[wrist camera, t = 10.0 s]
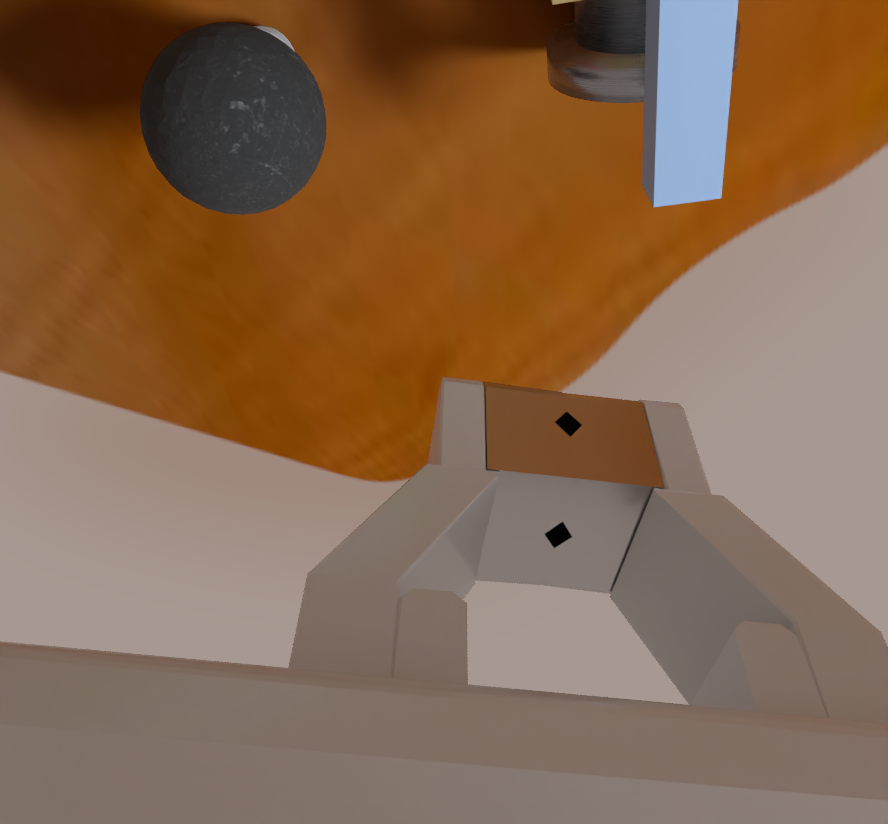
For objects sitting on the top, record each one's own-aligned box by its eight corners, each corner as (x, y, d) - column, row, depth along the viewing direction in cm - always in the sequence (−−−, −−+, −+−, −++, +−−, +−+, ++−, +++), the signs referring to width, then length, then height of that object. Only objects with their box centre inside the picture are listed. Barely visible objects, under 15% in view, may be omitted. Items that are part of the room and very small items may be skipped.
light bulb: (204, -54, 29) (127, 25, 21) (359, 4, 30) (339, 97, 23) (181, 99, 32) (107, 215, 25) (321, 145, 34) (292, 268, 26)
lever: (615, -246, 19) (632, -244, 18) (771, -272, 19) (802, -273, 18) (615, 185, 26) (628, 213, 25) (730, 169, 26) (750, 197, 24)
